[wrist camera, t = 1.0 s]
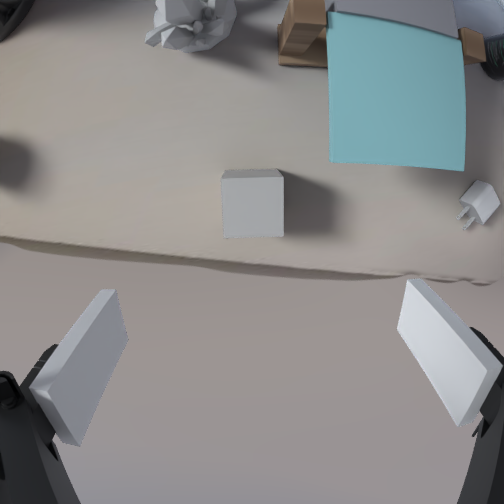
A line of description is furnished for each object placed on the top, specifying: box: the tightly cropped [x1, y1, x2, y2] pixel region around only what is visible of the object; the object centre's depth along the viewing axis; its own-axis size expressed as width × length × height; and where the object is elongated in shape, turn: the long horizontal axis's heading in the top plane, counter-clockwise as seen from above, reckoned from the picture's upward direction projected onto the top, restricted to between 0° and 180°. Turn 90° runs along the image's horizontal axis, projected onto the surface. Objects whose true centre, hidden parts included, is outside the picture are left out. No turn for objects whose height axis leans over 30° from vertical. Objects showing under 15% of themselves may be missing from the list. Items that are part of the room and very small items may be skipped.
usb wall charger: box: [456, 180, 500, 230], centre depth 37 cm, size 4×7×4 cm, turn 136°
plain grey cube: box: [221, 169, 284, 238], centre depth 35 cm, size 6×6×7 cm
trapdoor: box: [325, 0, 466, 171], centre depth 23 cm, size 19×13×5 cm
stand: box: [277, 0, 486, 67], centre depth 25 cm, size 5×19×13 cm, turn 91°
